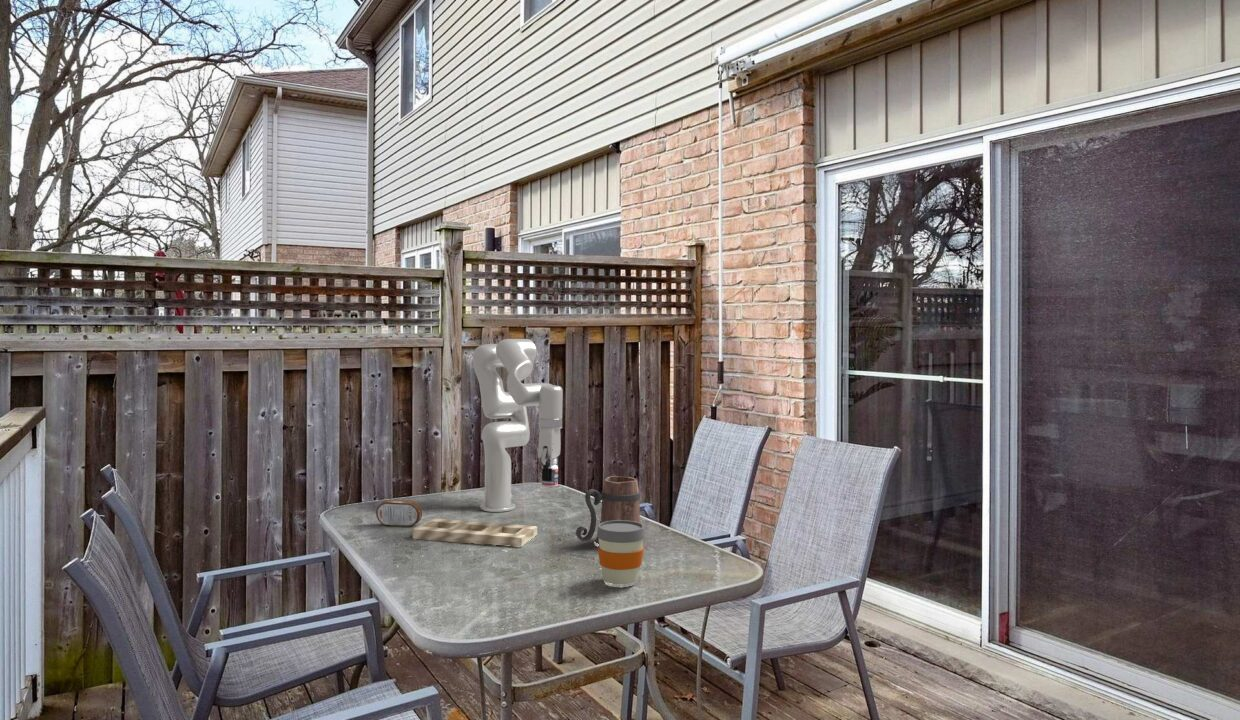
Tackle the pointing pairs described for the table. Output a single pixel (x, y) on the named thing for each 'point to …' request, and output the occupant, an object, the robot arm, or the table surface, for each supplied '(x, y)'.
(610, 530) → the reusable coffee cup
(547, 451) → the robot arm
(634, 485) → the tankard
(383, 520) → the tin
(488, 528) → the wooden rack
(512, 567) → the table surface
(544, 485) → the pill bottle
